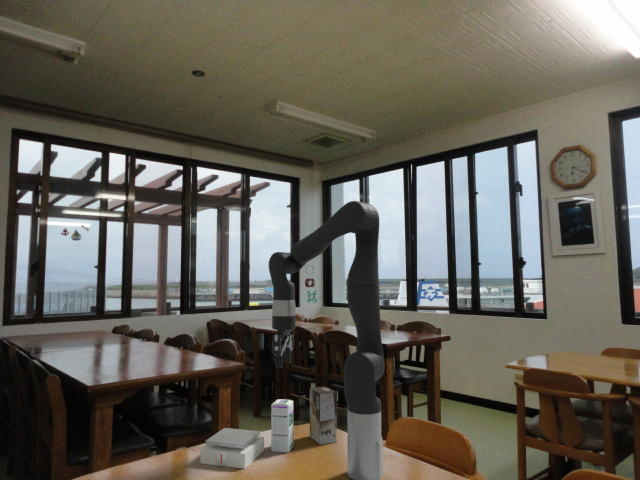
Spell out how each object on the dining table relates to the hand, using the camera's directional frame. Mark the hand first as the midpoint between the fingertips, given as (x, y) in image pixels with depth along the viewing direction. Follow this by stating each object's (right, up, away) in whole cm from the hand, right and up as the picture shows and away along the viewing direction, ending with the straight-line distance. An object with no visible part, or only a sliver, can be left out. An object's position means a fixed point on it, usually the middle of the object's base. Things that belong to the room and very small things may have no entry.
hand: (283, 365), depth 143 cm
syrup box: (0, -26, -2) cm, 26 cm away
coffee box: (+13, -27, +7) cm, 30 cm away
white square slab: (-14, -25, -9) cm, 30 cm away
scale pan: (-14, -20, -8) cm, 26 cm away
